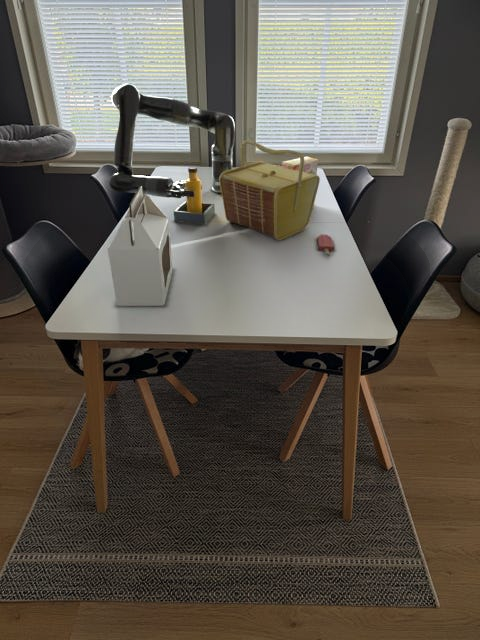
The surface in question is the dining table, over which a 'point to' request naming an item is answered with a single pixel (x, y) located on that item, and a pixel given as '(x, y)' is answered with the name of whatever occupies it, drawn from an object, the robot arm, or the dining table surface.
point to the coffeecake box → (309, 165)
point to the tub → (194, 214)
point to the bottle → (194, 185)
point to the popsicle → (325, 243)
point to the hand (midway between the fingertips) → (198, 190)
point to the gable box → (141, 255)
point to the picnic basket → (269, 195)
